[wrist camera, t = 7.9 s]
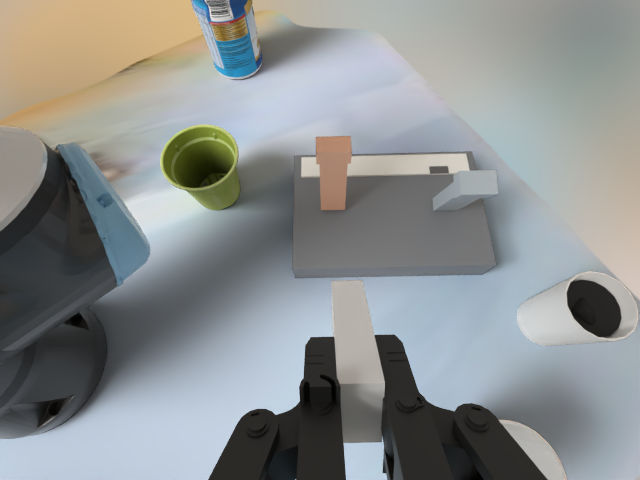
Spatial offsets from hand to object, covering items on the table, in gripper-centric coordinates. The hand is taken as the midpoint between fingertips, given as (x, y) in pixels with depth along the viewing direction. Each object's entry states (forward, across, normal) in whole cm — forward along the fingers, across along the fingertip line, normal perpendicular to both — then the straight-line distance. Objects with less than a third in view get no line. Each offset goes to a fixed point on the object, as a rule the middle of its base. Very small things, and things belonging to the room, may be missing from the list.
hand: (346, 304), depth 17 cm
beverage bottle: (+52, -15, +15) cm, 56 cm away
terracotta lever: (+27, 0, -4) cm, 28 cm away
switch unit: (+30, +7, -6) cm, 32 cm away
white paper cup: (+20, +25, -17) cm, 36 cm away
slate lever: (+27, +14, -4) cm, 31 cm away
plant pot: (+34, -16, -3) cm, 38 cm away
